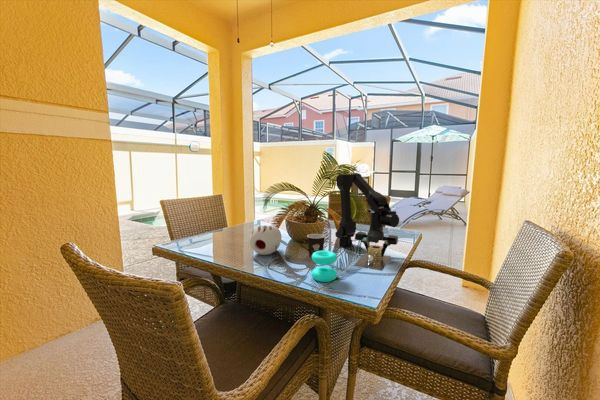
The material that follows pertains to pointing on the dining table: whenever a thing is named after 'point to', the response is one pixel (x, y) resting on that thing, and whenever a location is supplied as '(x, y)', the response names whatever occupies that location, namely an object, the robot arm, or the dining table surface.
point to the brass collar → (375, 251)
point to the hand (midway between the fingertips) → (375, 255)
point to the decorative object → (265, 239)
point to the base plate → (375, 264)
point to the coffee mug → (314, 243)
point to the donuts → (323, 272)
